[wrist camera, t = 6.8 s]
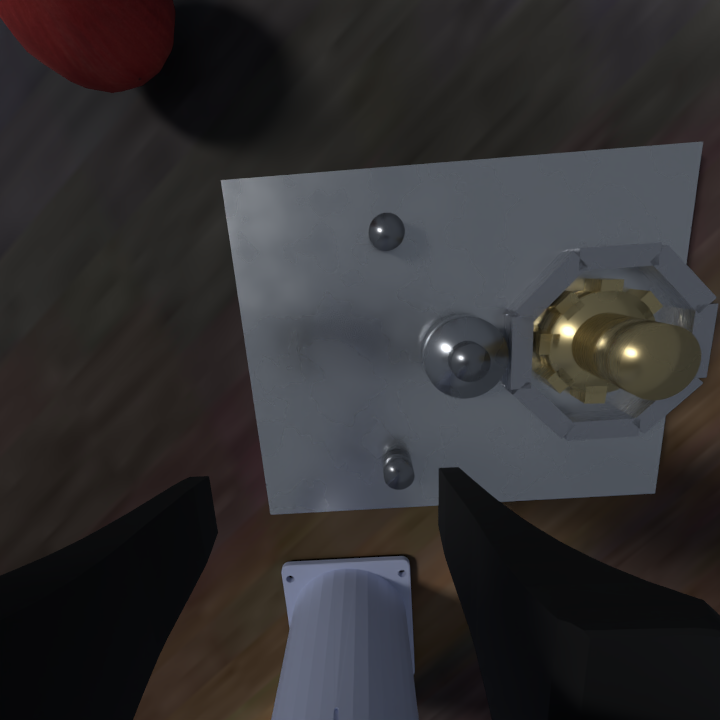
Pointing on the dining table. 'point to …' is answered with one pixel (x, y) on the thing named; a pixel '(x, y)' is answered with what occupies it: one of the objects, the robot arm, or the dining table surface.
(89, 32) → the onion
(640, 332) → the gear
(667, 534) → the dining table surface
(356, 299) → the carrier plate
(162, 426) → the dining table surface
